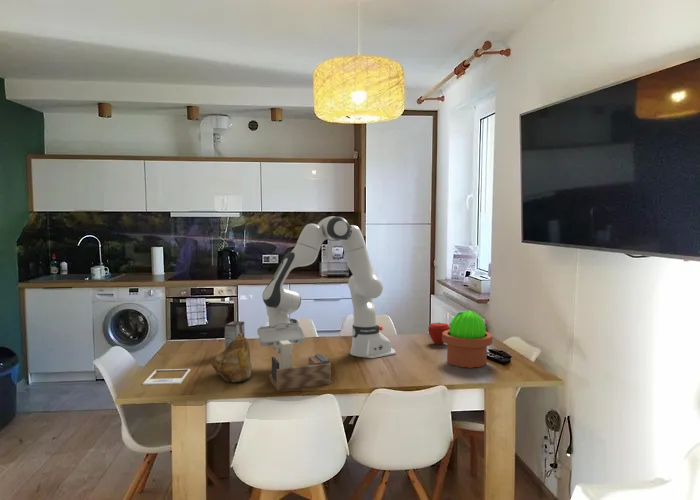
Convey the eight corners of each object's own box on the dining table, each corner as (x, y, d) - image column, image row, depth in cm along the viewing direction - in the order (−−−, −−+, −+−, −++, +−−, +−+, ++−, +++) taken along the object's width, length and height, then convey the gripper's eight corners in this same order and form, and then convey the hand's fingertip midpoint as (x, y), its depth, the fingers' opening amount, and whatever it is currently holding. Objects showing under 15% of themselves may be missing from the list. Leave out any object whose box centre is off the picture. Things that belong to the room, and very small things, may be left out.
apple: (449, 342, 268) (450, 320, 267) (449, 347, 257) (449, 324, 257) (428, 341, 270) (429, 318, 270) (427, 345, 260) (427, 323, 259)
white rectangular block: (287, 365, 223) (287, 339, 222) (292, 371, 215) (291, 343, 215) (278, 366, 221) (278, 340, 221) (282, 372, 214) (282, 344, 213)
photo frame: (142, 383, 199) (155, 369, 216) (142, 385, 199) (155, 371, 216) (180, 381, 200) (190, 368, 218) (180, 384, 200) (190, 370, 218)
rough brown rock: (216, 369, 221) (213, 337, 219) (254, 365, 222) (251, 333, 221) (207, 389, 198) (202, 353, 196) (249, 384, 199) (245, 348, 198)
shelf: (320, 373, 214) (320, 350, 213) (330, 383, 201) (330, 359, 200) (269, 379, 206) (269, 355, 205) (277, 390, 193) (276, 364, 192)
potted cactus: (499, 362, 231) (501, 309, 229) (476, 373, 215) (478, 315, 213) (457, 353, 246) (458, 303, 244) (433, 363, 229) (434, 309, 228)
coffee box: (232, 353, 245) (232, 320, 244) (245, 353, 244) (244, 321, 243) (224, 358, 236) (224, 324, 235) (237, 359, 235) (236, 325, 234)
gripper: (257, 323, 221) (262, 350, 212) (302, 319, 228) (308, 346, 220) (255, 331, 225) (260, 358, 217) (299, 327, 232) (305, 353, 224)
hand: (284, 352), depth 218 cm, fingers closed on white rectangular block, 4 cm apart
